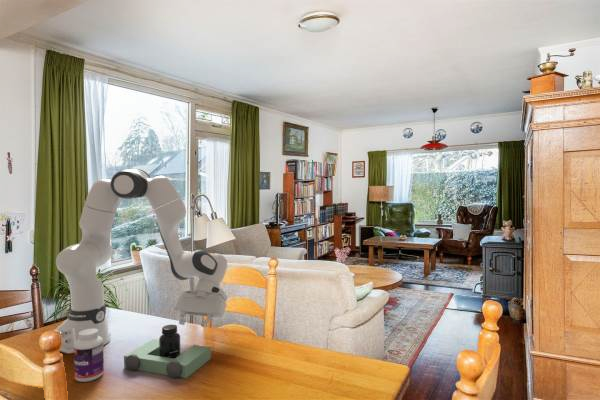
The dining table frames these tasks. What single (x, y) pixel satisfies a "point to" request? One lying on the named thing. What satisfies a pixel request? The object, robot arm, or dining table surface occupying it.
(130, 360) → the green u-shaped block
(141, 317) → the dining table surface
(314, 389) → the dining table surface
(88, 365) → the pill bottle
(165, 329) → the supplement bottle
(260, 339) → the dining table surface
